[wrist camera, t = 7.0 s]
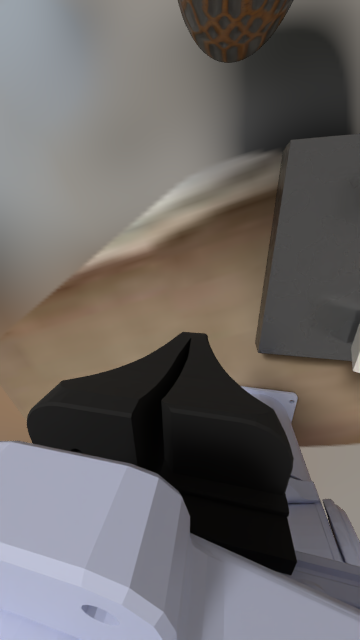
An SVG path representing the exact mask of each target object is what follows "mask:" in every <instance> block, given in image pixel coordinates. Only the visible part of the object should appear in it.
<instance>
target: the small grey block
mask: <svg viewBox="0 0 360 640" xmlns="http://www.w3.org/2000/svg"><path fill="white" fill-rule="evenodd" d="M351 352H352V367H353V371H354V372H358V373H360V324H359V326H358V329H357V332H356V335H355V338H354V341H353V344H352V347H351Z"/></svg>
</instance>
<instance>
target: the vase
mask: <svg viewBox="0 0 360 640" xmlns="http://www.w3.org/2000/svg"><path fill="white" fill-rule="evenodd" d="M292 2H293V0H178V3H179V6H180V10H181V13H182V16H183V19H184V22H185V24H186V26H187V28H188V30H189V32H190V34H191V36H192V38H193V39H194V41H195V42H196V44H197V45H198V46H199V47H200V49H201V50H202V51H203V52H204V53H205V54H207V55H208V56H210V57H211V58H213V59H214V60H217V61H220V62H225V63H231V62H237V61H240V60H243V59H245V58H247V57H249V56H250V55H252V54H253V53H255V52H256V51H257V50H258V49H260V47H262V45H264V44H265V43H266V42H267V41H268V39H269V38H270V37H271V36H272V34H273V33H274V32H275V31H276V29H277V27H278V26H279V25H280V23H281V21H282V20H283V19H284V17H285V15H286V13H287V12H288V10H289V8H290V6H291V4H292Z"/></svg>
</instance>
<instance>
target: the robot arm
mask: <svg viewBox="0 0 360 640" xmlns="http://www.w3.org/2000/svg"><path fill="white" fill-rule="evenodd" d="M297 399H298V397H297V395H296V394H295V393H293V392H285V391H277V390H269V389H260V388H252V387H244V386H239V385H238V384H237V383H236V382H235V381H234V380H233V379H232V378H231V377H230V376H229V375H228V374H227V373H226V371H225V370H224V369H223V368H222V366H221V365H220V363H219V362H218V360H217V359H216V357H215V355H214V353H213V351H212V349H211V347H210V345H209V342H208V336H207V335H206V334H203V333H190V332H182V333H181V334H179V335H178V336H177V337H175V338H174V339H173V340H171V341H170V342H168V343H167V344H165V345H164V346H162V347H161V348H159V349H158V350H156V351H154V352H153V353H151V354H149V355H147V356H145V357H143V358H141V359H139V360H137V361H135V362H132V363H130V364H127V365H124V366H122V367H119V368H116V369H113V370H109V371H106V372H102V373H99V374H95V375H90V376H85V377H80V378H75V379H70V380H63V381H61V382H60V383H59V384H58V385H57V386H56V387H55V388H54V389H53V390H51V391H50V392H49V393H48V394H47V395H46V396H45V397H44V398H43V399H42V400H40V401H39V402H38V403H37V404H36V405H35V406H34V407H33V408H32V409H31V410H30V412H29V414H28V417H27V428H28V432H29V435H30V438H31V440H32V443H33V444H32V443H27V442H21V441H0V640H360V542H359V539H358V537H357V535H356V533H355V531H354V529H353V526H352V525H351V522H350V520H349V519H348V517H347V515H346V513H345V512H344V510H342V509H341V508H340V507H339V506H337V505H335V504H334V502H333V501H332V500H331V499H324V500H323V503H324V507H325V510H326V513H327V515H328V520H329V523H328V520H327V518H326V515H325V512H324V509H323V507H322V504H321V502H320V499H319V496H318V493H317V490H316V488H315V485H314V482H312V481H311V478H310V476H309V473H308V470H307V467H306V464H305V461H304V459H303V456H302V453H301V450H300V447H299V444H298V442H297V439H296V436H295V433H294V430H293V428H292V425H291V422H292V418H293V414H294V411H295V407H296V403H297ZM290 400H293V401H290ZM329 524H330V525H329ZM330 527H331V528H330ZM331 530H332V531H331ZM333 535H334V536H333ZM334 538H335V539H334ZM335 541H336V542H335Z"/></svg>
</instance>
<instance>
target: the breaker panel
mask: <svg viewBox="0 0 360 640" xmlns="http://www.w3.org/2000/svg"><path fill="white" fill-rule="evenodd" d="M359 324H360V134H352V135H340V136H329V137H318V138H306V139H295V140H291V141H290V142H289V143H288V145H287V146H286V148H285V149H284V151H283V155H282V162H281V169H280V175H279V182H278V189H277V196H276V203H275V210H274V217H273V224H272V231H271V237H270V244H269V251H268V258H267V265H266V272H265V279H264V286H263V293H262V300H261V306H260V313H259V320H258V327H257V334H256V341H255V344H256V347H257V350H258V353H268V354H279V355H290V356H301V357H312V358H323V359H335V360H346V361H352V352H351V347H352V344H353V341H354V338H355V335H356V332H357V329H358V326H359Z"/></svg>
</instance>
